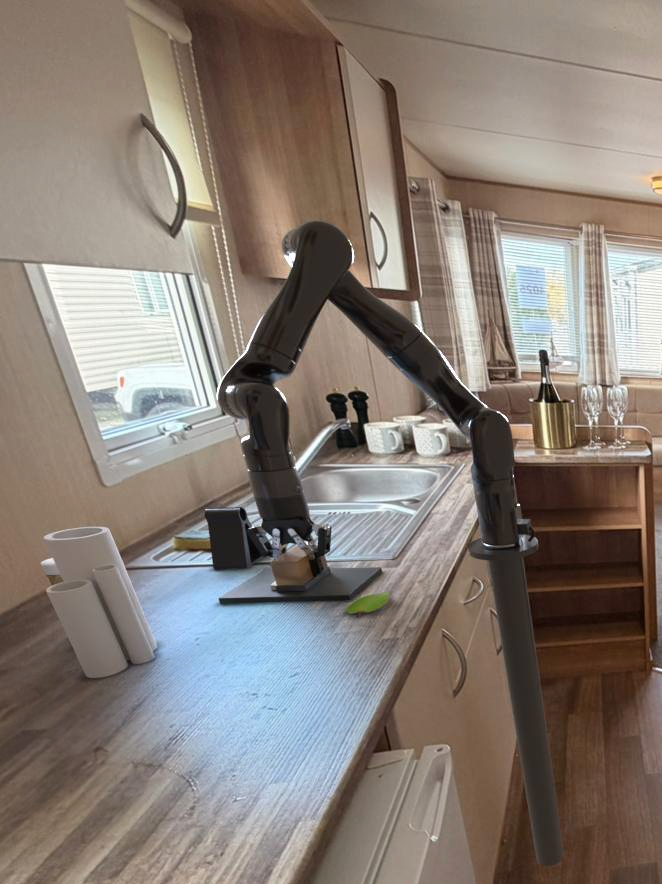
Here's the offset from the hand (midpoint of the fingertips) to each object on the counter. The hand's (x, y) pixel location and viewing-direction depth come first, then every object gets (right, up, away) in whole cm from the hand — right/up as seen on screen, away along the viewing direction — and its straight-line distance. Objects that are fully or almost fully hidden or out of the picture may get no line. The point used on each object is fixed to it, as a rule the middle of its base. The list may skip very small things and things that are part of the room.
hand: (302, 575), depth 126 cm
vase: (-7, -14, -26) cm, 31 cm away
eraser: (0, -1, +1) cm, 1 cm away
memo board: (0, -2, +1) cm, 3 cm away
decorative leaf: (+17, -6, -5) cm, 19 cm away
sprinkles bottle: (-19, -11, -20) cm, 30 cm away
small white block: (-3, -2, -2) cm, 4 cm away
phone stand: (-22, +3, +12) cm, 26 cm away
